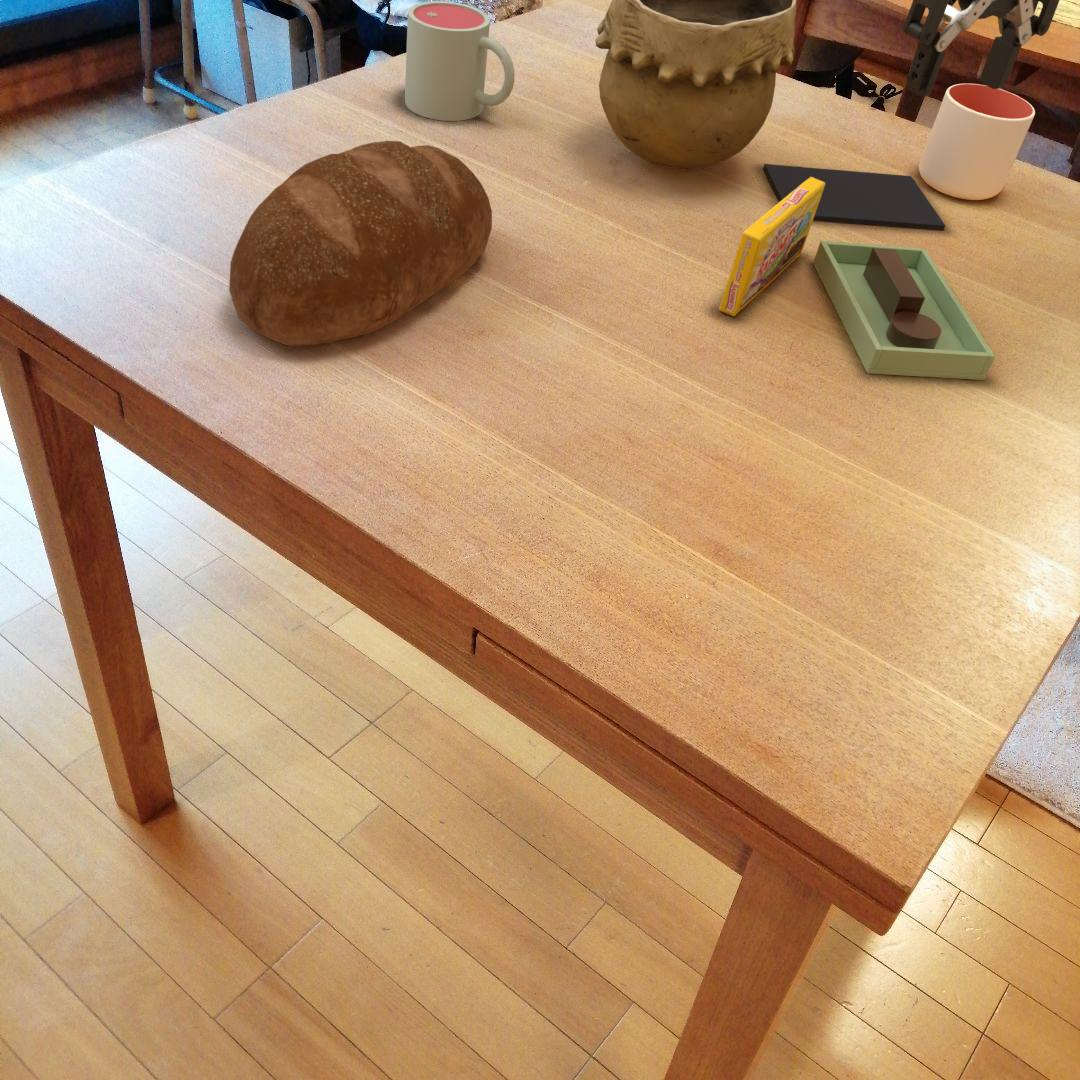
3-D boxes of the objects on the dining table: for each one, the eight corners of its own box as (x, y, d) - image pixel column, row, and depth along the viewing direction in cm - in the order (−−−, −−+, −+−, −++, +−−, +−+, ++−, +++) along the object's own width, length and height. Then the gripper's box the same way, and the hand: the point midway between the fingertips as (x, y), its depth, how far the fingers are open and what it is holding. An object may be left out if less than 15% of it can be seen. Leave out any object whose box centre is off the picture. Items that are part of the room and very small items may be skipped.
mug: (388, 103, 127) (391, 13, 120) (435, 82, 133) (439, -5, 127) (486, 141, 123) (494, 50, 116) (529, 117, 129) (539, 29, 122)
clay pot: (723, 224, 115) (773, 27, 101) (547, 162, 121) (572, -32, 107) (786, 159, 129) (837, -22, 116) (625, 106, 135) (656, -72, 121)
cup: (1016, 196, 129) (1053, 112, 122) (962, 210, 125) (998, 125, 118) (951, 160, 135) (983, 78, 128) (898, 173, 130) (928, 89, 123)
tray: (916, 270, 113) (925, 248, 111) (984, 380, 99) (995, 356, 97) (812, 263, 111) (820, 240, 109) (867, 373, 97) (876, 349, 96)
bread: (187, 312, 92) (172, 185, 84) (397, 195, 111) (401, 83, 103) (334, 384, 87) (332, 257, 79) (526, 249, 106) (540, 136, 99)
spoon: (895, 276, 110) (906, 249, 108) (942, 355, 100) (954, 327, 98) (852, 273, 109) (862, 246, 107) (894, 352, 100) (906, 324, 97)
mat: (909, 180, 129) (911, 175, 128) (943, 230, 120) (945, 225, 120) (762, 168, 126) (764, 163, 126) (787, 218, 118) (788, 213, 117)
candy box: (737, 320, 101) (760, 239, 96) (716, 311, 102) (738, 230, 96) (803, 256, 112) (827, 180, 106) (784, 249, 113) (807, 173, 107)
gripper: (1005, -114, 76) (922, 115, 87) (1139, -114, 82) (1045, 100, 93) (932, -143, 81) (862, 77, 92) (1064, -142, 87) (983, 66, 98)
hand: (954, 89), depth 93 cm, fingers open, 8 cm apart
